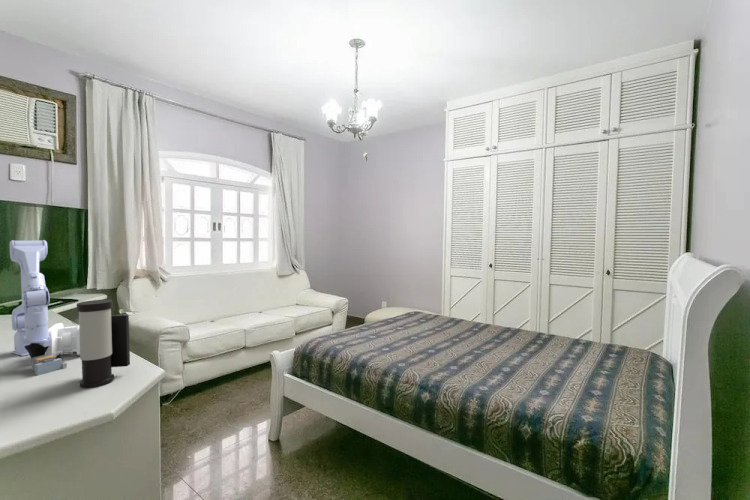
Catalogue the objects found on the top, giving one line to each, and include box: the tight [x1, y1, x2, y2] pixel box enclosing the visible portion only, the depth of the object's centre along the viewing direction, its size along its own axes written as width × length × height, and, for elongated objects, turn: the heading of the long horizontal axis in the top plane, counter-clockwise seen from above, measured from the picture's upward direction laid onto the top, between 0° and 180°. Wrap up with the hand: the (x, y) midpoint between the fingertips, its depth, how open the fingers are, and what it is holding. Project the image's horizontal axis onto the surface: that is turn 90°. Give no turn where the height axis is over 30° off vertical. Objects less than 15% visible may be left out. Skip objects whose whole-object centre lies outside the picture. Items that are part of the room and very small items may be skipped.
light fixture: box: [76, 299, 131, 389], centre depth 106 cm, size 12×11×25 cm
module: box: [31, 353, 57, 371], centre depth 117 cm, size 6×4×4 cm
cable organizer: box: [45, 322, 80, 358], centre depth 131 cm, size 15×11×12 cm
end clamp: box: [33, 357, 63, 376], centre depth 115 cm, size 2×6×4 cm, turn 155°
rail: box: [62, 361, 68, 369], centre depth 121 cm, size 18×1×2 cm, turn 65°
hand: (38, 364), depth 118 cm, fingers closed
